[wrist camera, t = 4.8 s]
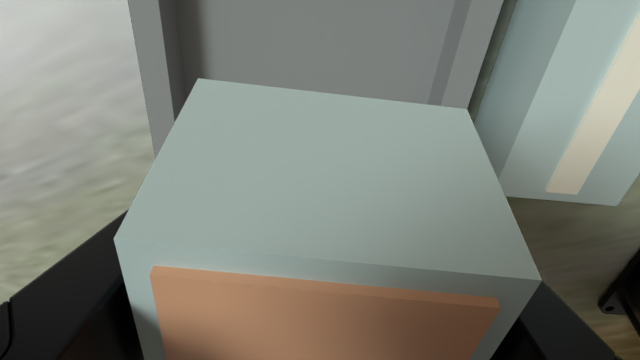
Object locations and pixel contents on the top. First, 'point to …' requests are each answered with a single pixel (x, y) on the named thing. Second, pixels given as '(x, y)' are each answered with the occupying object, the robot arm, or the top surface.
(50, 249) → the top surface
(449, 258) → the stub
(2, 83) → the top surface
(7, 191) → the top surface
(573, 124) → the striped slotted box
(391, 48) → the tray
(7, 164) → the top surface
